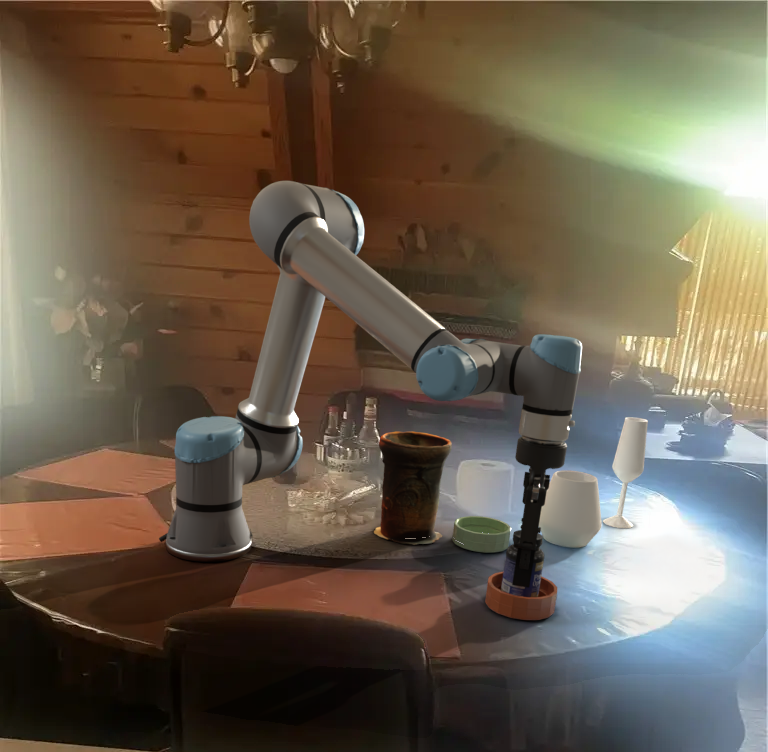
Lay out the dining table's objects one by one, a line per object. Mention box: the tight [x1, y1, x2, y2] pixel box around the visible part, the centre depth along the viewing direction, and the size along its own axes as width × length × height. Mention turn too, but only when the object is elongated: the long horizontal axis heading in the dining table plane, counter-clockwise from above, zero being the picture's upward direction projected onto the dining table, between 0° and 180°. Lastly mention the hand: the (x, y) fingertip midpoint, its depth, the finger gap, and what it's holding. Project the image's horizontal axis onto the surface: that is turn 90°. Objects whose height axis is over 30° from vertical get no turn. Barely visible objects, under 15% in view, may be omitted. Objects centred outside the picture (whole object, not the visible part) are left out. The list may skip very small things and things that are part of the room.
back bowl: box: [452, 515, 512, 553], centre depth 152 cm, size 11×11×4 cm
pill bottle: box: [501, 529, 545, 597], centre depth 122 cm, size 6×6×11 cm
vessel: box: [373, 431, 453, 546], centre depth 152 cm, size 14×14×20 cm
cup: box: [539, 469, 603, 548], centre depth 156 cm, size 13×13×14 cm
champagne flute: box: [602, 416, 649, 529], centre depth 169 cm, size 7×7×24 cm
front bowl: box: [484, 570, 558, 621], centre depth 124 cm, size 11×11×4 cm
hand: (521, 577), depth 123 cm, fingers closed on pill bottle, 6 cm apart
